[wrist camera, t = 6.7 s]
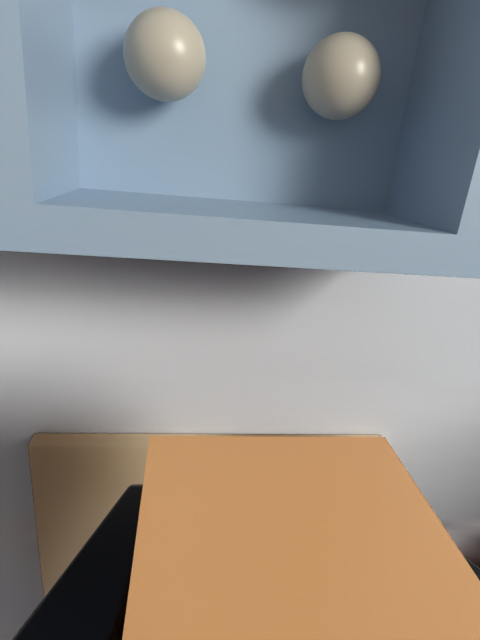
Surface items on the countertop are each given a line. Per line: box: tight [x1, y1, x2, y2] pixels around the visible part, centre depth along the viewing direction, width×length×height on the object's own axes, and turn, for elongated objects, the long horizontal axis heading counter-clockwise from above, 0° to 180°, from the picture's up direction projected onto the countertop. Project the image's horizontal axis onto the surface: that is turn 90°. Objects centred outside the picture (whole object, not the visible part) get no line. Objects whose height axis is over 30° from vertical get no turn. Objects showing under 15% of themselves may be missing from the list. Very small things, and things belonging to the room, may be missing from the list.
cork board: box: [28, 433, 382, 597], centre depth 16 cm, size 11×15×1 cm
